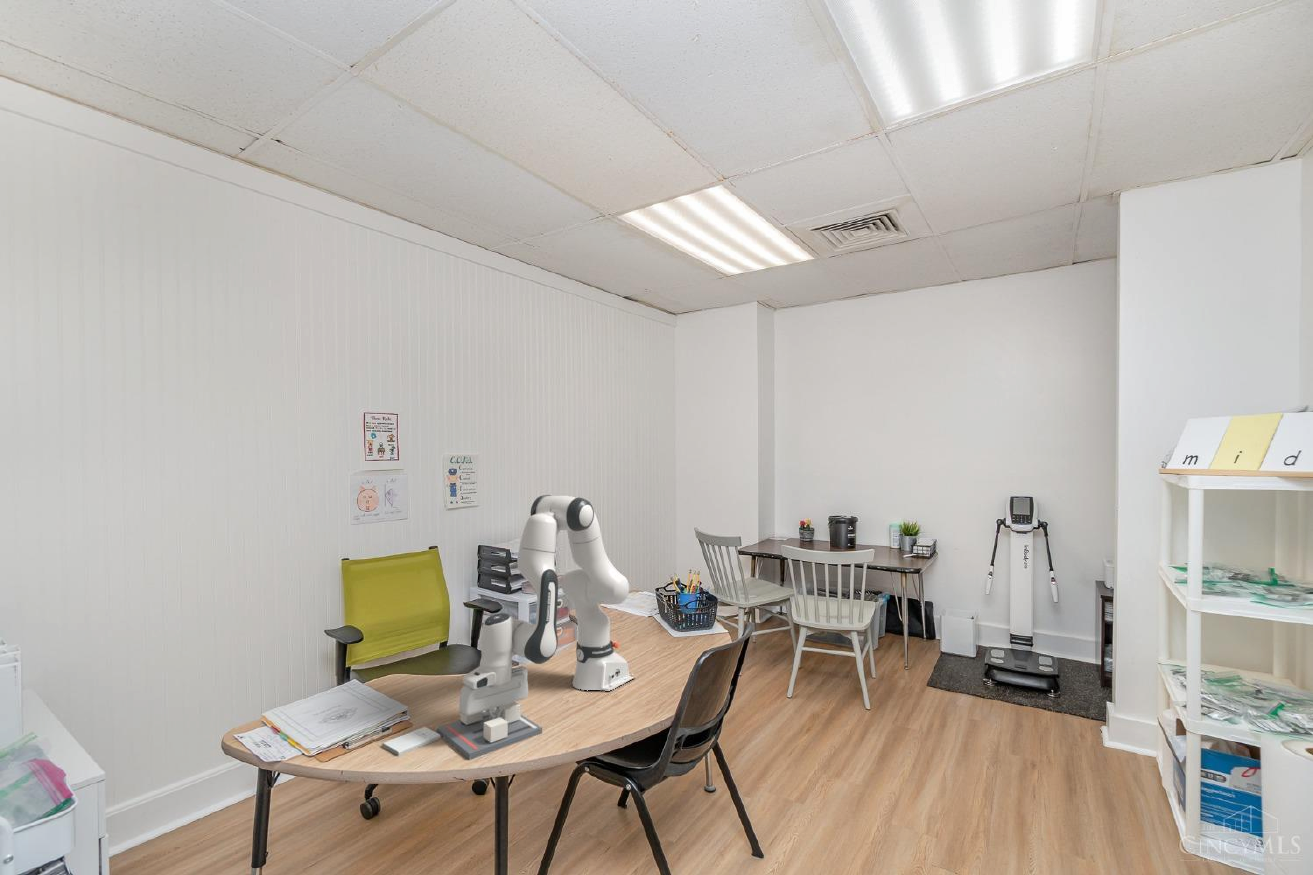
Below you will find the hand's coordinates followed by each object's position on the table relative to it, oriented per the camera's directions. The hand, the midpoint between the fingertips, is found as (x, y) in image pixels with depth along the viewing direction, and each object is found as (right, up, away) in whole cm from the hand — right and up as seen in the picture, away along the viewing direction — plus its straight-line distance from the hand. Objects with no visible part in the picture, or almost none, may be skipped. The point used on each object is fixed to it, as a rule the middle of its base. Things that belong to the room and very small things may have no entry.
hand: (494, 721), depth 170 cm
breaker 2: (+2, -1, -8) cm, 8 cm away
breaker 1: (-7, -1, +2) cm, 8 cm away
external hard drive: (-21, -3, -7) cm, 22 cm away
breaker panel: (-1, -3, -1) cm, 3 cm away
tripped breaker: (+3, -1, +3) cm, 5 cm away
